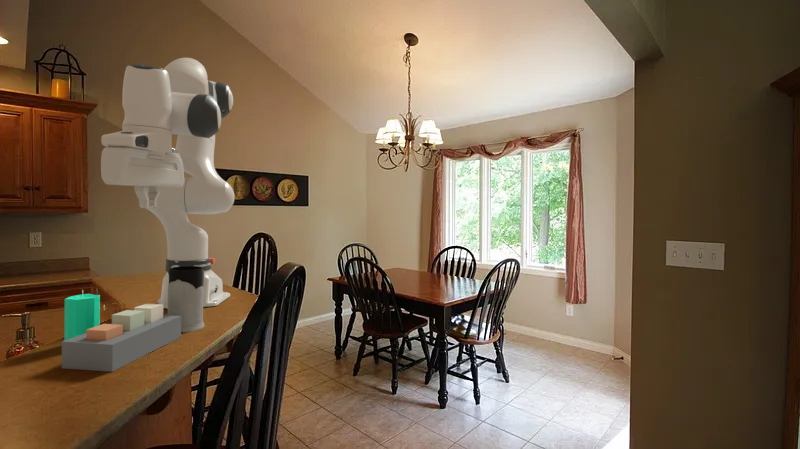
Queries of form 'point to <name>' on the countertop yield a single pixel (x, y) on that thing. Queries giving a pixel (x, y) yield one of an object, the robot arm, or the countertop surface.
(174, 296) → the grey black ceramic vase
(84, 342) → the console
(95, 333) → the key
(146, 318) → the key
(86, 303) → the candle
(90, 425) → the countertop surface
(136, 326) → the key mid
